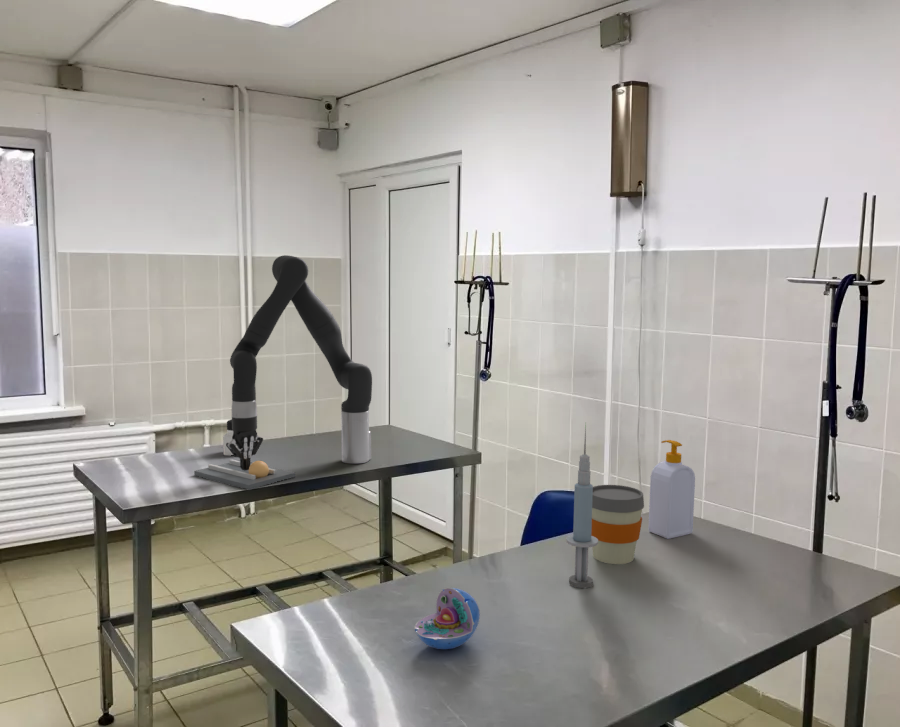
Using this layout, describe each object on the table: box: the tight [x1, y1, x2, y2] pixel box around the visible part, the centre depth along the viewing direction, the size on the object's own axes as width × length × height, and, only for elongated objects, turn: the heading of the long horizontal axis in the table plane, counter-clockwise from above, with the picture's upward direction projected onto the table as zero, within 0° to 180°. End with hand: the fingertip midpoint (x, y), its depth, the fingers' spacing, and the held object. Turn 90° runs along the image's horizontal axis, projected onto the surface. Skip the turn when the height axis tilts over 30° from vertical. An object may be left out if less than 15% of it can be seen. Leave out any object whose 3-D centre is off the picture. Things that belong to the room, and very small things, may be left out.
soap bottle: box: [648, 439, 696, 540], centre depth 187 cm, size 9×7×23 cm
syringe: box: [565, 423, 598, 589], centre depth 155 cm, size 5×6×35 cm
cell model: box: [413, 587, 481, 650], centre depth 129 cm, size 10×12×10 cm
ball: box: [249, 460, 269, 479], centre depth 232 cm, size 6×6×6 cm
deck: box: [193, 458, 296, 491], centre depth 237 cm, size 18×26×3 cm
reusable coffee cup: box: [591, 484, 645, 565], centre depth 171 cm, size 13×13×15 cm
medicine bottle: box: [222, 418, 237, 456], centre depth 266 cm, size 7×7×12 cm
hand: (245, 469), depth 236 cm, fingers closed
